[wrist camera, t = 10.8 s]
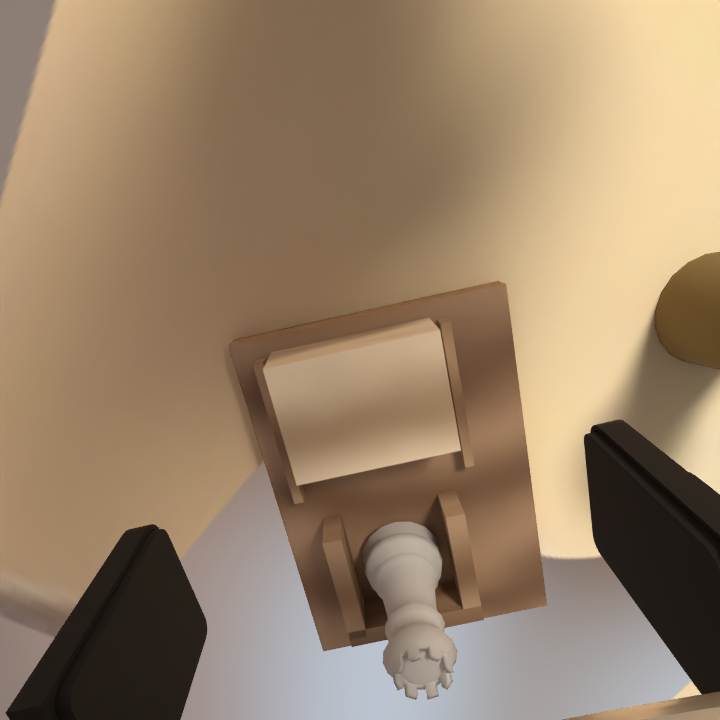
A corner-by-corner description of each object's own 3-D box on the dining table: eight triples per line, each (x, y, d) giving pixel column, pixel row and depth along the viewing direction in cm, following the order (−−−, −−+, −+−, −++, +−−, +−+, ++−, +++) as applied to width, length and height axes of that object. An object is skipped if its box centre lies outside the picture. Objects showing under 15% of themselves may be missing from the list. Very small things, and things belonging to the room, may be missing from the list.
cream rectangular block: (271, 352, 24) (262, 369, 21) (428, 317, 24) (440, 330, 21) (301, 457, 26) (296, 485, 23) (448, 425, 25) (460, 450, 23)
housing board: (233, 340, 25) (217, 358, 22) (498, 281, 25) (522, 291, 21) (324, 634, 31) (322, 684, 27) (539, 590, 30) (562, 635, 27)
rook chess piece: (392, 502, 27) (413, 617, 19) (454, 540, 28) (498, 664, 20) (346, 558, 28) (349, 689, 20) (408, 593, 29) (433, 731, 21)
